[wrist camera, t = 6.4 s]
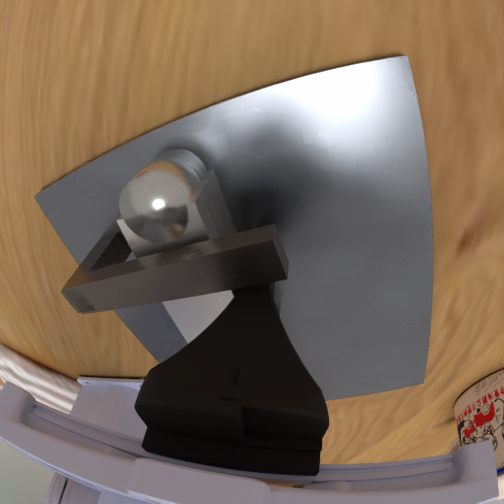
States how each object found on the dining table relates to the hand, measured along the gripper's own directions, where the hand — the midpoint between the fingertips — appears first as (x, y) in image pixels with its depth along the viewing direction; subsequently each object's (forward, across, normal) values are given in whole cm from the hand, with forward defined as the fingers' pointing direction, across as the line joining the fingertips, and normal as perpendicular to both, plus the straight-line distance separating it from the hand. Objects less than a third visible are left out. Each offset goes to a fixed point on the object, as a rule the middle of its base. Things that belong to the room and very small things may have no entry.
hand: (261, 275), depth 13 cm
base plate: (+2, 0, +4) cm, 4 cm away
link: (+1, +2, +2) cm, 3 cm away
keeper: (+2, +4, -1) cm, 4 cm away
